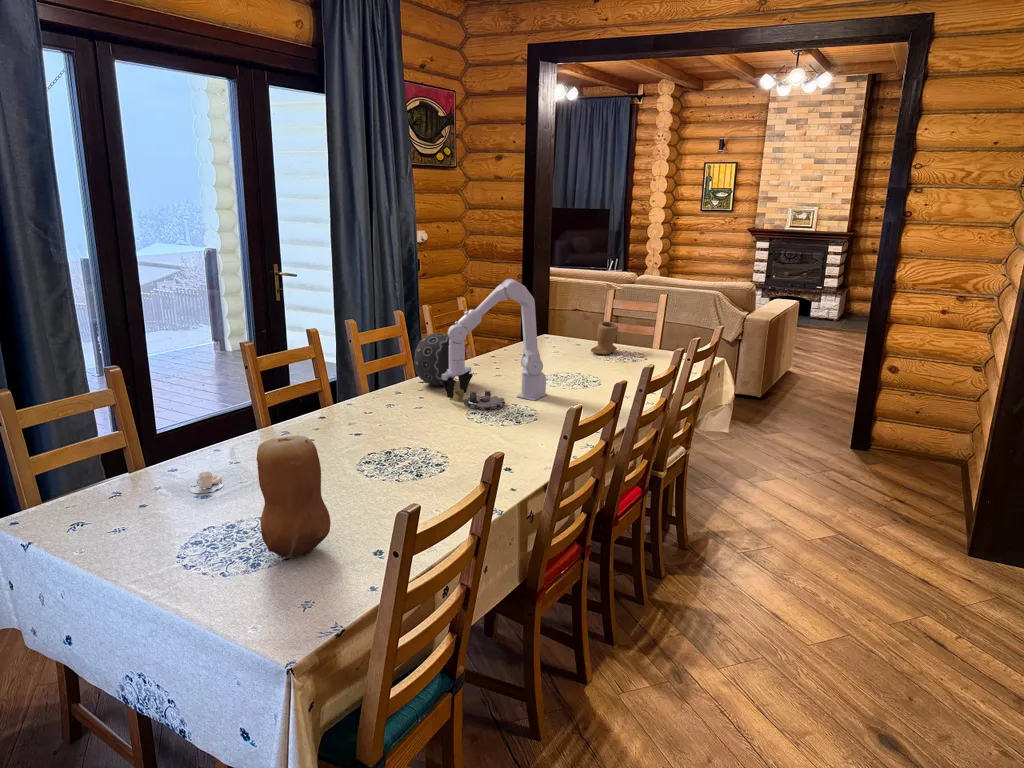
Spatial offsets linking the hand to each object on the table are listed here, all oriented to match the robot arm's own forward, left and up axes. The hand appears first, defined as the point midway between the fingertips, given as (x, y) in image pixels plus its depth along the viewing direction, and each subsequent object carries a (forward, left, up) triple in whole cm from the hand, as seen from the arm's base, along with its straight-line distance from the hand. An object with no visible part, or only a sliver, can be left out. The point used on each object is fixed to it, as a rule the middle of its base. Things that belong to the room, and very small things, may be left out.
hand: (456, 395), depth 250 cm
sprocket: (-2, +12, -2) cm, 12 cm away
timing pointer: (-9, +7, -2) cm, 12 cm away
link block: (0, 0, -2) cm, 2 cm away
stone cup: (-105, +6, -2) cm, 105 cm away
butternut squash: (+106, +44, -2) cm, 115 cm away
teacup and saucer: (+96, +1, -2) cm, 96 cm away
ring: (-12, -19, -2) cm, 23 cm away
